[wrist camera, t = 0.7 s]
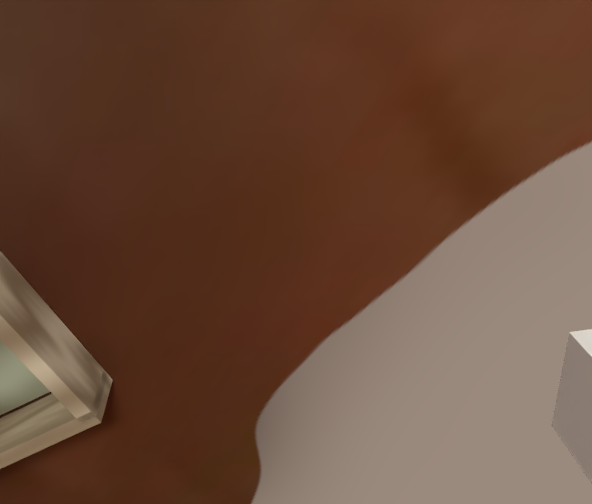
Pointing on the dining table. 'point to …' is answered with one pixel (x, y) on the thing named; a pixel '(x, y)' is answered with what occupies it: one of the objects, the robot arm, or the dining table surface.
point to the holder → (42, 373)
